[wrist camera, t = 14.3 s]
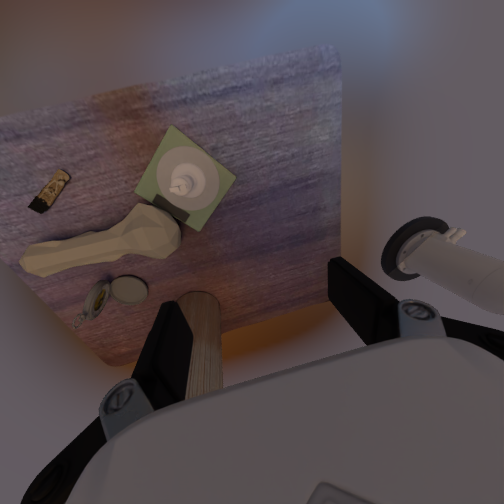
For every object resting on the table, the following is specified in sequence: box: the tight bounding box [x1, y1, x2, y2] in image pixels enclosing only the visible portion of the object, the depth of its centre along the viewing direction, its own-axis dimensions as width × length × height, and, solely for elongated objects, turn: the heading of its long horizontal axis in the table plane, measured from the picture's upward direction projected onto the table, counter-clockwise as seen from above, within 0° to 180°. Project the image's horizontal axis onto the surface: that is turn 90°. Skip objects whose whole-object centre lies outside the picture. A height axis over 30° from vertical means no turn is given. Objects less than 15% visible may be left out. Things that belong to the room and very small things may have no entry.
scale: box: [134, 124, 237, 232], centre depth 29 cm, size 11×11×3 cm
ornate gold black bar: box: [28, 169, 69, 214], centre depth 27 cm, size 8×2×1 cm, turn 133°
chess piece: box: [169, 162, 206, 198], centre depth 23 cm, size 5×5×10 cm
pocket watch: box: [72, 276, 148, 329], centre depth 32 cm, size 8×8×10 cm
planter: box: [177, 292, 223, 400], centre depth 32 cm, size 10×10×23 cm
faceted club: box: [19, 203, 181, 278], centre depth 29 cm, size 9×8×25 cm
